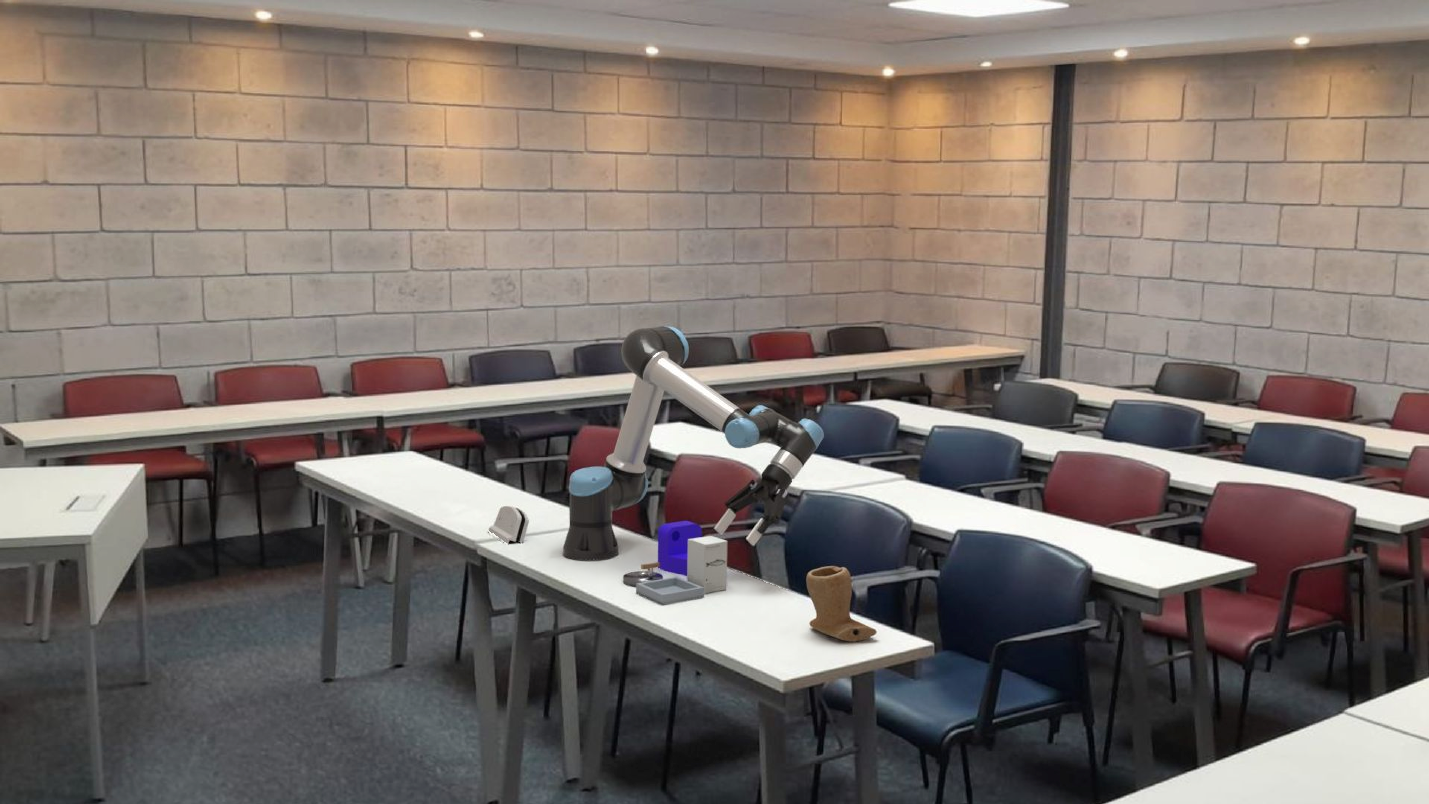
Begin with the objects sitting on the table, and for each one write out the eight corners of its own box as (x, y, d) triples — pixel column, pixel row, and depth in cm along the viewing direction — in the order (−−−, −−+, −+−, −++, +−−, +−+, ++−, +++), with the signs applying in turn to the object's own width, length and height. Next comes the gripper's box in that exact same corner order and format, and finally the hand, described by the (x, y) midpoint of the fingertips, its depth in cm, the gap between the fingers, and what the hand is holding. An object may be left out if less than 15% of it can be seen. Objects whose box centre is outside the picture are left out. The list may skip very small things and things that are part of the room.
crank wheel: (615, 580, 328) (616, 559, 327) (649, 574, 334) (649, 554, 333) (636, 589, 320) (636, 567, 319) (670, 583, 325) (670, 562, 325)
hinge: (487, 532, 378) (497, 500, 379) (501, 536, 381) (512, 504, 381) (506, 545, 364) (517, 511, 364) (521, 548, 366) (532, 515, 366)
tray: (636, 593, 316) (636, 583, 316) (676, 586, 323) (676, 576, 323) (662, 605, 306) (662, 595, 306) (704, 597, 313) (704, 587, 313)
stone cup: (795, 628, 289) (796, 563, 287) (840, 622, 295) (841, 558, 293) (831, 648, 276) (833, 580, 274) (877, 640, 281) (879, 574, 279)
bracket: (657, 568, 341) (658, 524, 339) (691, 562, 347) (691, 519, 346) (697, 583, 326) (698, 538, 325) (731, 577, 333) (732, 532, 331)
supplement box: (703, 594, 316) (703, 544, 314) (686, 587, 322) (686, 538, 320) (727, 590, 320) (728, 540, 319) (710, 583, 326) (710, 534, 324)
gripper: (820, 488, 321) (772, 556, 315) (759, 473, 341) (713, 536, 335) (804, 470, 318) (755, 537, 311) (743, 455, 338) (696, 518, 331)
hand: (733, 537), depth 323 cm, fingers open, 13 cm apart
